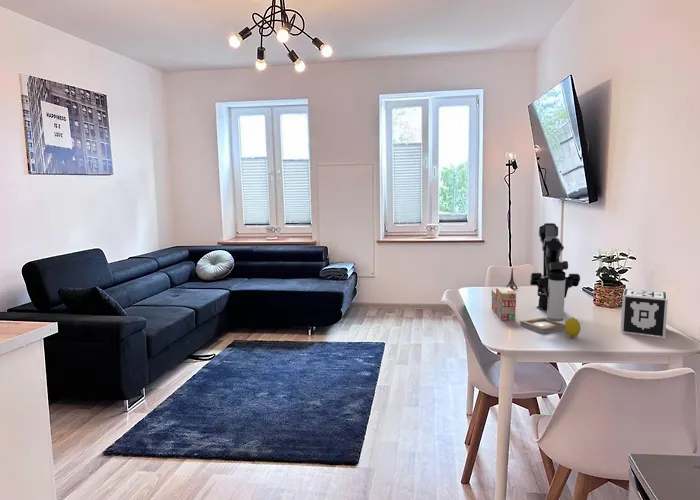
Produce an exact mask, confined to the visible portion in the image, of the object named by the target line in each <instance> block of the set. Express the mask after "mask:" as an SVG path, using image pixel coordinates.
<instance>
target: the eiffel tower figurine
mask: <svg viewBox="0 0 700 500" xmlns="http://www.w3.org/2000/svg"><path fill="white" fill-rule="evenodd" d="M513 270H514V268H513V267H511V274H510V279H509V282H508V284H507V285H506V286H501V287H510V288H511V289H512V290H513V291H515V290H518V289H519V287H518V286H517V285H516V283H515V281H514V271H513Z"/></svg>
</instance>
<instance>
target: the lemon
mask: <svg viewBox="0 0 700 500" xmlns="http://www.w3.org/2000/svg"><path fill="white" fill-rule="evenodd" d="M564 324H565V330H564V332H565V334H566V335H568V336H569V337H570V338H571V339H572V338H573V339H574V338H575V337H577V336H578V335H579V334H580V333H581V323H580V321H579V320H578V319H577V318H575V317H570V318H568V319H567V320H566V321H565V323H564Z"/></svg>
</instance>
